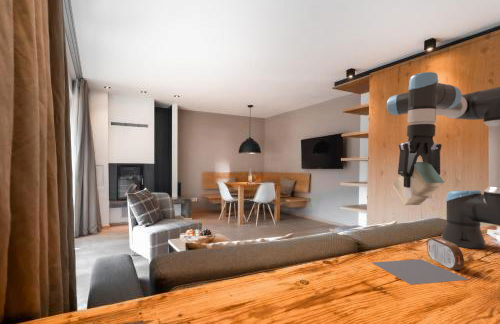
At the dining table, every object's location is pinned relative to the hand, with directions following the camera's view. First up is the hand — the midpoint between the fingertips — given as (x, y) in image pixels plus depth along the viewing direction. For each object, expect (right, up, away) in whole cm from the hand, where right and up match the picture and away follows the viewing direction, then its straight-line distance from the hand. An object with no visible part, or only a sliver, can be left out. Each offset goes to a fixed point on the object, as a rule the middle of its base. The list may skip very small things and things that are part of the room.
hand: (418, 197), depth 86 cm
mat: (-1, -23, 0) cm, 23 cm away
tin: (+12, -24, +6) cm, 28 cm away
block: (-1, 0, +5) cm, 5 cm away
